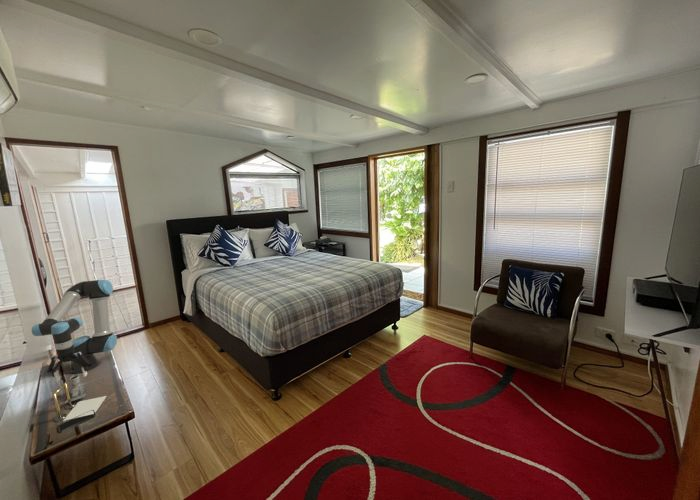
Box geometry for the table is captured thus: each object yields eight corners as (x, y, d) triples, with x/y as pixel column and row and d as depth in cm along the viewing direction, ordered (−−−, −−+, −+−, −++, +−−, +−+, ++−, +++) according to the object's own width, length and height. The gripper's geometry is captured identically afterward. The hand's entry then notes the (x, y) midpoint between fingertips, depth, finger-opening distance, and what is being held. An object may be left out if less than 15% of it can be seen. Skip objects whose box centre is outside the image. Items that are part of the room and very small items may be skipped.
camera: (84, 371, 184) (80, 384, 173) (88, 387, 187) (84, 400, 175) (66, 377, 179) (60, 390, 168) (70, 393, 182) (64, 406, 170)
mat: (78, 402, 173) (78, 401, 173) (106, 396, 178) (106, 395, 178) (63, 421, 158) (62, 420, 158) (93, 414, 163) (93, 413, 163)
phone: (96, 415, 162) (59, 432, 150) (96, 417, 162) (59, 434, 151) (93, 409, 167) (57, 425, 155) (93, 410, 167) (58, 426, 155)
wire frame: (68, 404, 172) (62, 381, 169) (78, 402, 174) (72, 379, 170) (52, 422, 158) (45, 397, 155) (63, 420, 160) (57, 395, 156)
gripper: (33, 354, 164) (42, 386, 168) (86, 346, 172) (93, 377, 176) (42, 348, 171) (50, 379, 175) (93, 340, 179) (99, 370, 183)
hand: (72, 378), depth 175 cm, fingers open, 13 cm apart
